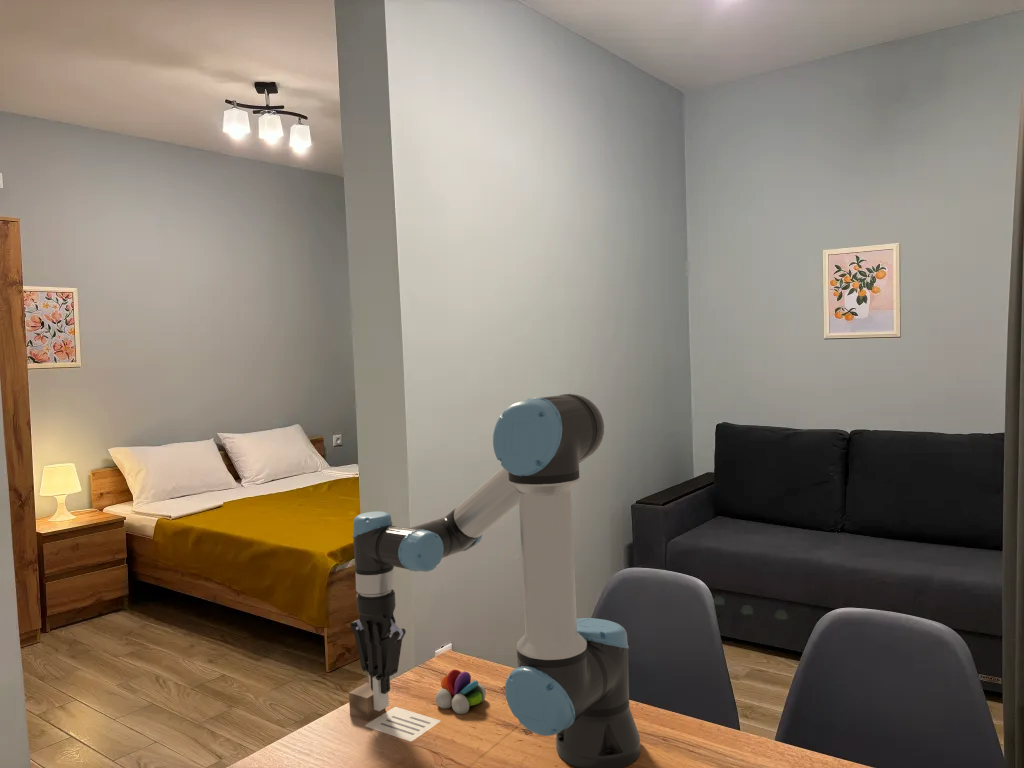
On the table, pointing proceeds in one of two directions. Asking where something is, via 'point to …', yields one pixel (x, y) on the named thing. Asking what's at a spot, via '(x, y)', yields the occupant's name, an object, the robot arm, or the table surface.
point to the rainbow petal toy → (459, 692)
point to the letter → (403, 723)
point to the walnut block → (363, 703)
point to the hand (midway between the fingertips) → (381, 707)
